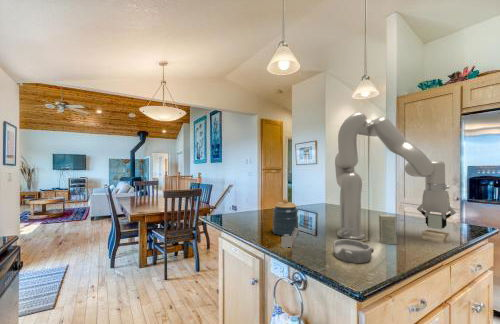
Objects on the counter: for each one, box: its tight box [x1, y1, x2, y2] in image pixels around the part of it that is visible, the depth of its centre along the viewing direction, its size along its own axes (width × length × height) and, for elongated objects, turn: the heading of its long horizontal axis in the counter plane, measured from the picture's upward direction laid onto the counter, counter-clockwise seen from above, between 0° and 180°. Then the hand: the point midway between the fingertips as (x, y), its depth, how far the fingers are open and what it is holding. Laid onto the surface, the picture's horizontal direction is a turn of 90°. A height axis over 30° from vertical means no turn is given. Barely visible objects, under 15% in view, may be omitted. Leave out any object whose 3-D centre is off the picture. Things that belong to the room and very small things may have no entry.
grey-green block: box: [427, 212, 444, 231], centre depth 117 cm, size 5×5×6 cm
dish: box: [332, 238, 375, 264], centre depth 94 cm, size 14×14×5 cm
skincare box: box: [378, 214, 397, 245], centre depth 112 cm, size 6×4×12 cm
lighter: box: [280, 228, 300, 249], centre depth 105 cm, size 7×2×8 cm, turn 99°
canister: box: [272, 198, 299, 237], centre depth 127 cm, size 13×13×18 cm
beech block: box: [421, 228, 451, 245], centre depth 116 cm, size 8×8×4 cm
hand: (435, 226), depth 117 cm, fingers closed on grey-green block, 5 cm apart
